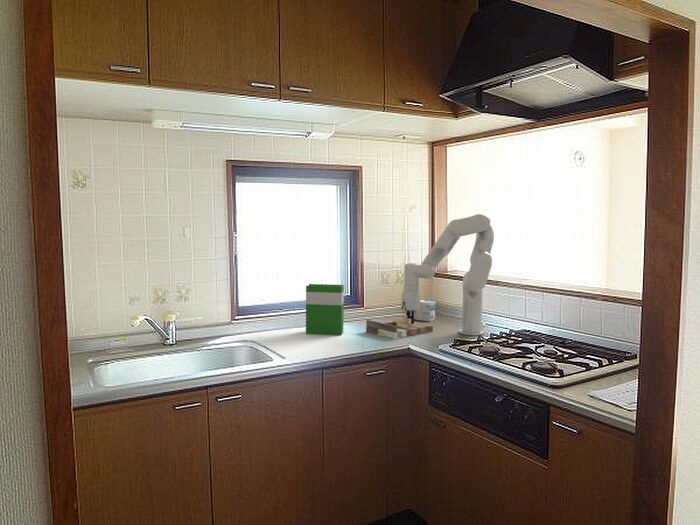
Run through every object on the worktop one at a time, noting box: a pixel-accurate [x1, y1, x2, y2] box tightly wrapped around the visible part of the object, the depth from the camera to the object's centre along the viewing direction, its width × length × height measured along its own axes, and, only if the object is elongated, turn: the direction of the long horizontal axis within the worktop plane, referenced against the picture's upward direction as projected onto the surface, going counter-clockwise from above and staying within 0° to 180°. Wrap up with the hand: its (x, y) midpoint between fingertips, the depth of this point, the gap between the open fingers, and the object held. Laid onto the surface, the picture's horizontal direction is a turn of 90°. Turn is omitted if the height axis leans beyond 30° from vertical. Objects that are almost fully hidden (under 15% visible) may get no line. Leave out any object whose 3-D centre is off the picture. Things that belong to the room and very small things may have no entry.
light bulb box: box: [414, 299, 436, 322], centre depth 296 cm, size 11×7×11 cm, turn 58°
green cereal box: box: [305, 283, 345, 336], centre depth 258 cm, size 18×7×24 cm, turn 83°
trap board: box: [365, 319, 434, 340], centre depth 264 cm, size 28×20×6 cm
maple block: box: [396, 317, 411, 328], centre depth 262 cm, size 5×5×4 cm
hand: (410, 323), depth 265 cm, fingers closed
